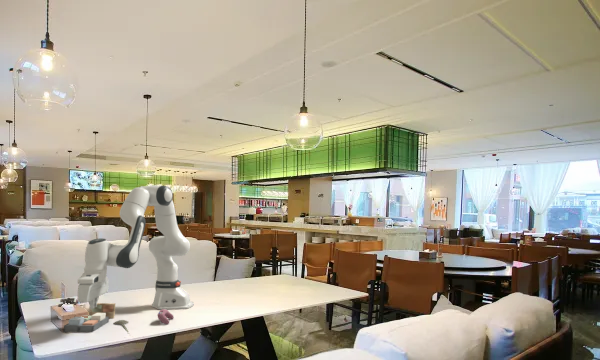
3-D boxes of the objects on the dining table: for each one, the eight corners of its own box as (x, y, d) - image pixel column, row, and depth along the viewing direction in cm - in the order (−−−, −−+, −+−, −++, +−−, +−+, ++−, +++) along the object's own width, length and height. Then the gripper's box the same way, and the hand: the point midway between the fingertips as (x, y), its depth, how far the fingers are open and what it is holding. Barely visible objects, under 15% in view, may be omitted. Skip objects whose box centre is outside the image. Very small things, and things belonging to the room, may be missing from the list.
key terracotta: (97, 327, 162) (98, 320, 162) (91, 330, 157) (92, 323, 157) (88, 327, 161) (88, 320, 162) (82, 330, 156) (82, 323, 157)
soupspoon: (126, 324, 174) (111, 327, 171) (127, 317, 175) (111, 319, 171) (136, 335, 157) (119, 338, 153) (136, 327, 157) (119, 330, 153)
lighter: (73, 317, 180) (75, 296, 181) (76, 318, 178) (78, 297, 179) (55, 320, 173) (57, 298, 174) (58, 321, 171) (60, 300, 172)
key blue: (83, 323, 161) (84, 316, 162) (77, 327, 156) (78, 319, 157) (74, 323, 161) (75, 316, 161) (68, 327, 156) (68, 319, 156)
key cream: (105, 319, 169) (105, 312, 169) (100, 322, 164) (100, 315, 164) (96, 319, 168) (96, 312, 169) (90, 322, 163) (91, 315, 164)
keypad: (108, 324, 170) (109, 316, 170) (92, 334, 155) (93, 325, 155) (81, 323, 169) (82, 316, 169) (63, 334, 154) (64, 325, 155)
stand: (116, 319, 178) (117, 303, 179) (112, 321, 174) (113, 304, 175) (90, 319, 177) (92, 302, 178) (86, 321, 173) (88, 304, 174)
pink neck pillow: (166, 322, 181) (160, 309, 182) (174, 318, 182) (169, 305, 182) (160, 328, 172) (154, 314, 172) (169, 323, 172) (163, 310, 172)
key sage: (91, 322, 168) (92, 315, 168) (85, 325, 163) (86, 318, 163) (82, 322, 168) (83, 315, 168) (76, 325, 163) (77, 318, 163)
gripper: (99, 271, 172) (97, 301, 170) (75, 280, 151) (72, 314, 150) (113, 272, 172) (111, 302, 171) (91, 280, 152) (88, 314, 151)
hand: (93, 308), depth 160 cm, fingers closed
